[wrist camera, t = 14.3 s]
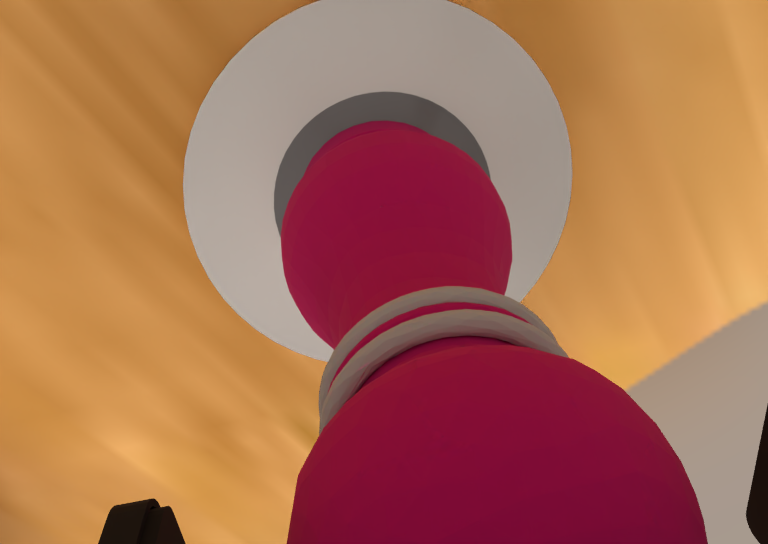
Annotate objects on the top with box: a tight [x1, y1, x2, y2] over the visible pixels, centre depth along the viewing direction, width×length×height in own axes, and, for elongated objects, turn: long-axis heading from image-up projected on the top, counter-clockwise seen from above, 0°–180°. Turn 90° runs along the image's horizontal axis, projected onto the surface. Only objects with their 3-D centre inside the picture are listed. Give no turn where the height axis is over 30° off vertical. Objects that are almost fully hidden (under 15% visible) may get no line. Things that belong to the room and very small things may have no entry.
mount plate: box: [183, 0, 572, 362], centre depth 24 cm, size 15×15×1 cm
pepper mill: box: [281, 121, 708, 544], centre depth 15 cm, size 7×7×20 cm
